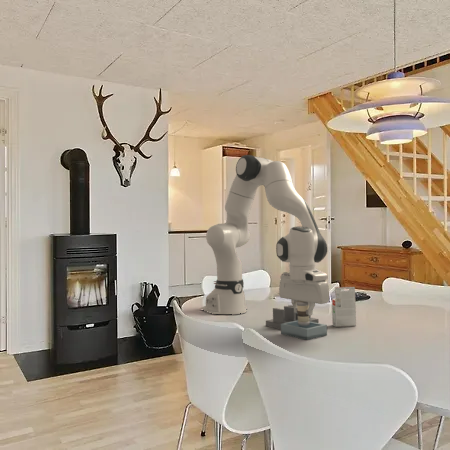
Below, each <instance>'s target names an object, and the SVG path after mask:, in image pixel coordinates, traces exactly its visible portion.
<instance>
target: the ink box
mask: <svg viewBox="0 0 450 450" xmlns="http://www.w3.org/2000/svg"><path fill="white" fill-rule="evenodd" d="M334 289H335V292H334V293H335V298H331V302H332V303H331V304H332V305H331V308H332V311H331V313H332V317H331V318H332V320H331V321H332V326H333V327H336V328H343V327H344V328H345V327H356V326H357V311H356V309H357V308H356V307H357V305H356V287H355V286H342V287H341V286H336V287H334ZM345 289H346V290H345Z"/></svg>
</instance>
